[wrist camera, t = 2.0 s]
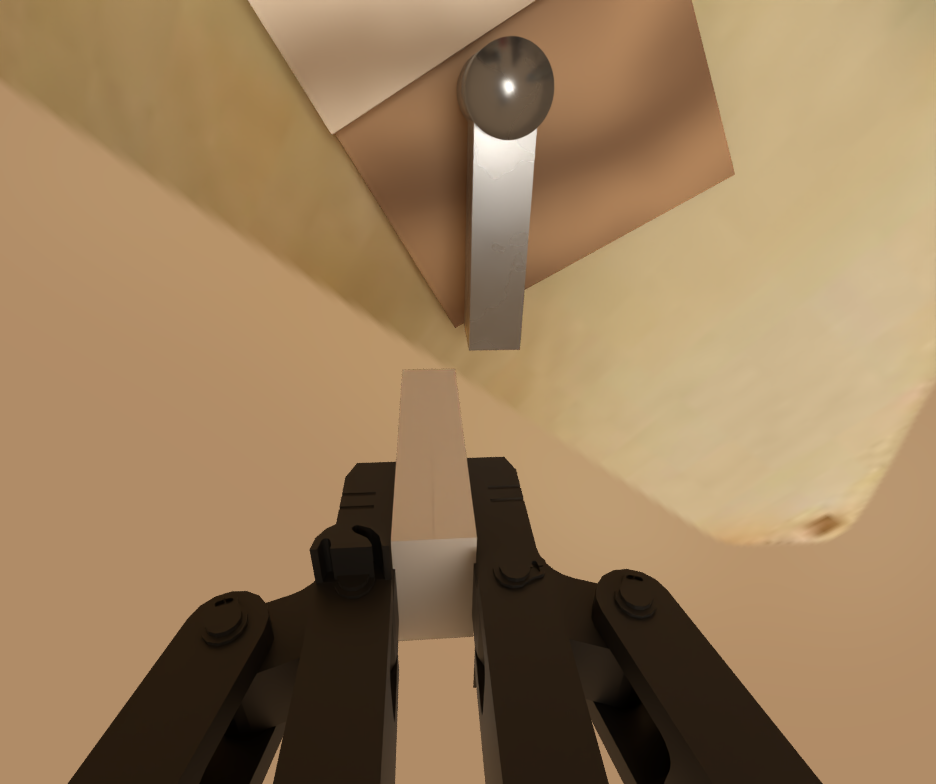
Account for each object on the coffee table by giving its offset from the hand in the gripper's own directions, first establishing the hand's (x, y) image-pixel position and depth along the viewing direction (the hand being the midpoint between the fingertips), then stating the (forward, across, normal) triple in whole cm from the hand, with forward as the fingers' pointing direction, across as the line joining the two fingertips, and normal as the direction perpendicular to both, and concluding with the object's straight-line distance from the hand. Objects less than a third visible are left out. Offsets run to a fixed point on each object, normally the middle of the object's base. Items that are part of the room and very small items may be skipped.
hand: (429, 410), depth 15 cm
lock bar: (+13, +3, +4) cm, 14 cm away
